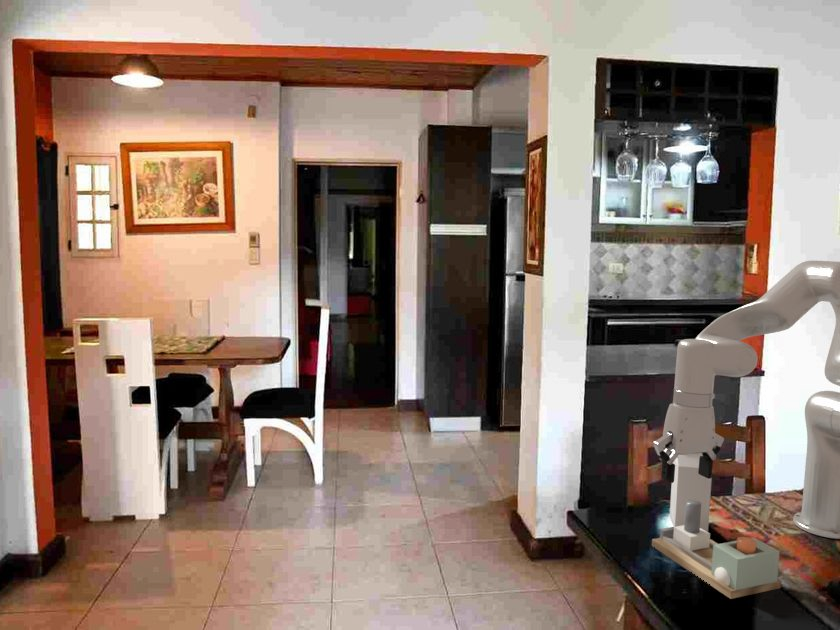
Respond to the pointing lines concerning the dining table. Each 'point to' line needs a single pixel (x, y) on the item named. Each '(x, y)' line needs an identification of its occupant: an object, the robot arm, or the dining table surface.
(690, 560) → the track
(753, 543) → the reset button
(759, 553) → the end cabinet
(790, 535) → the dining table surface
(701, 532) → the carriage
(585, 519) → the dining table surface
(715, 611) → the dining table surface
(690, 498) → the milk carton
